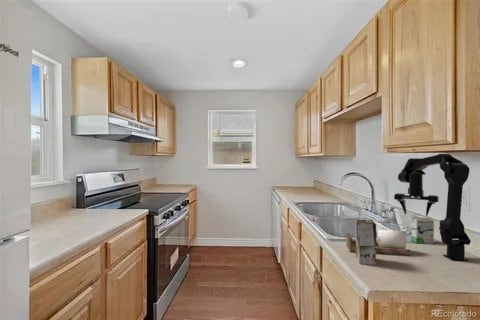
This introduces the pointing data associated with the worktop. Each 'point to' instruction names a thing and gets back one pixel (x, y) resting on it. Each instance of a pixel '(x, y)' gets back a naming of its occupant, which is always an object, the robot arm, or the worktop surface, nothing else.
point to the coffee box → (366, 242)
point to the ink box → (422, 230)
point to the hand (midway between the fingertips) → (416, 215)
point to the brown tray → (377, 248)
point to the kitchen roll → (391, 239)
